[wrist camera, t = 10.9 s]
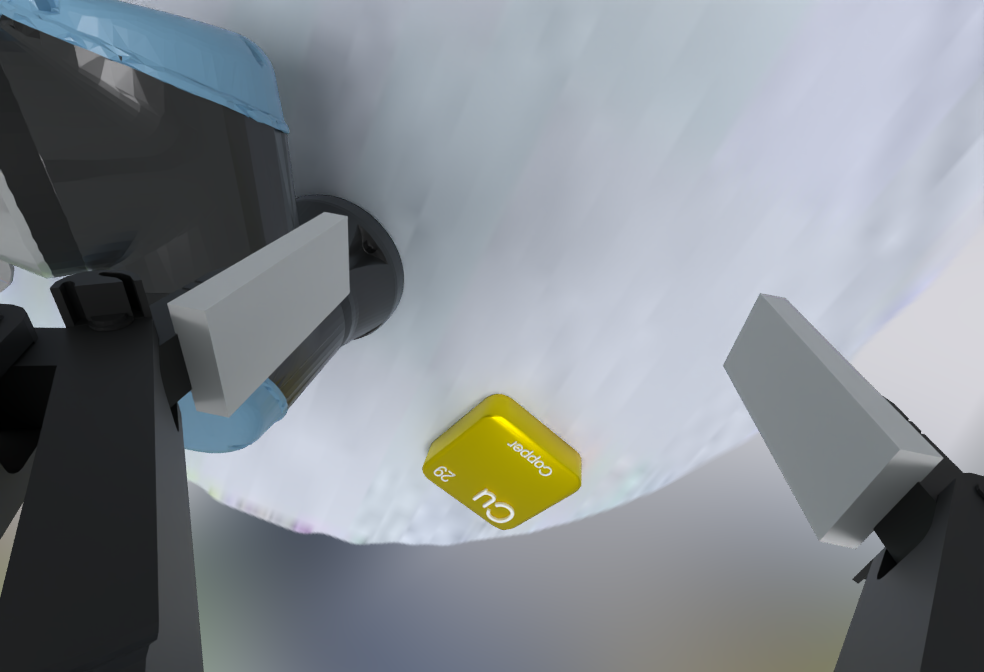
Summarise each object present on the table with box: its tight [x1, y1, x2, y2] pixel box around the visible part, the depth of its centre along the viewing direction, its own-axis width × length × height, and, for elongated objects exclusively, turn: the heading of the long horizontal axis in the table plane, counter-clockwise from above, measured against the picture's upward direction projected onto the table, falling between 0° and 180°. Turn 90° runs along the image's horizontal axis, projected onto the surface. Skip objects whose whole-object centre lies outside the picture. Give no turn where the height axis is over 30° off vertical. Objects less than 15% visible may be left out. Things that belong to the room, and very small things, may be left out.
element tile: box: [422, 394, 581, 530], centre depth 55 cm, size 15×15×5 cm
